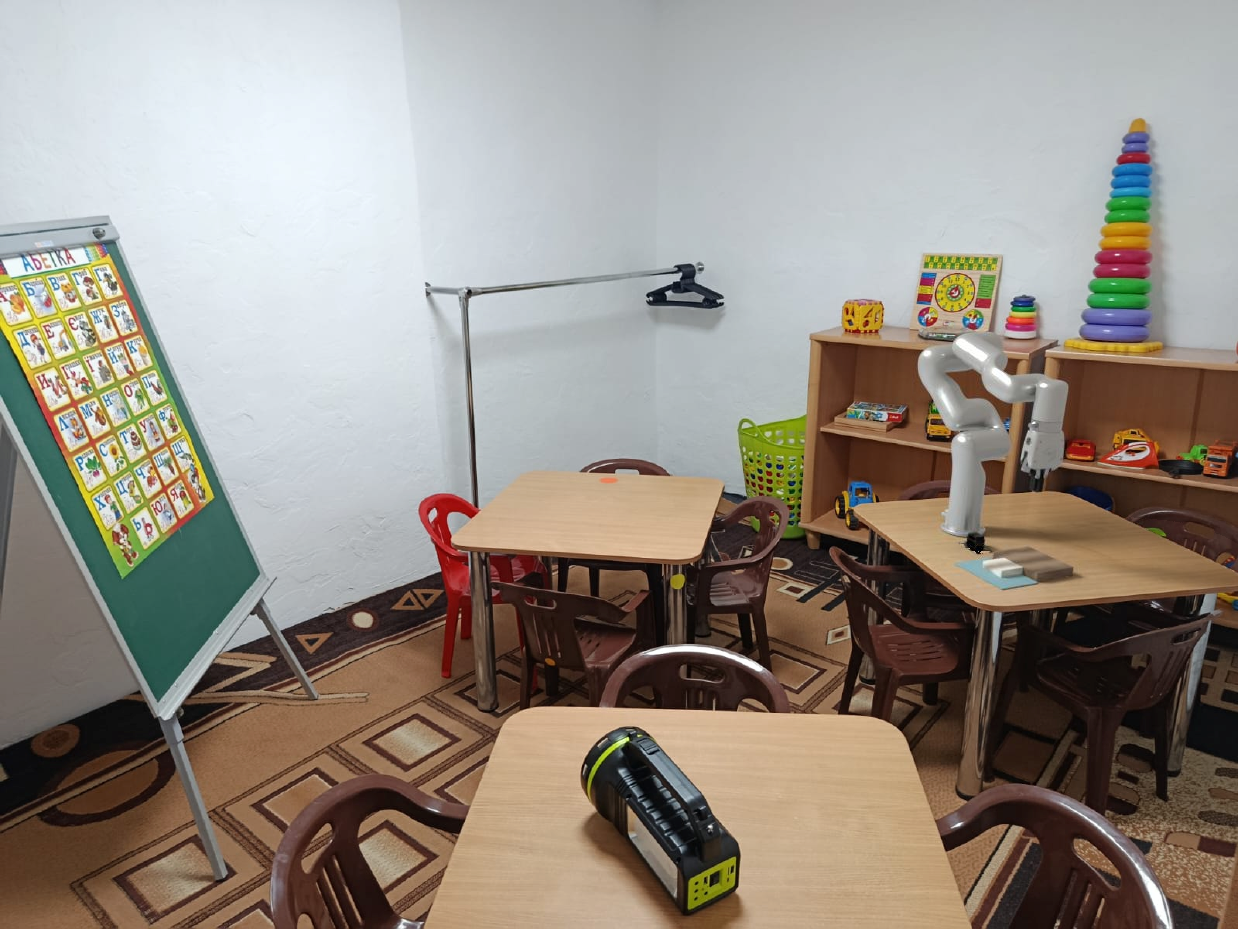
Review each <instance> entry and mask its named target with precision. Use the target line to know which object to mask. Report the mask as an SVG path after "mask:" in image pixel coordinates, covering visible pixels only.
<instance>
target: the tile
mask: <svg viewBox="0 0 1238 929" xmlns="http://www.w3.org/2000/svg"><path fill="white" fill-rule="evenodd" d="M992 559H993V558H992ZM982 568H984V569H986V570H988V571H990V572H991V573H993V574H995V575H997V576H999V577H1007V576H1014V575H1020V574H1022V572H1023V567H1022V566H1020V565H1018V564H1016V563H1014V562H1012V561H1010V560H1008V559H1006V558H999V559H993V560H986V561H983V567H982Z"/></svg>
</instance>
